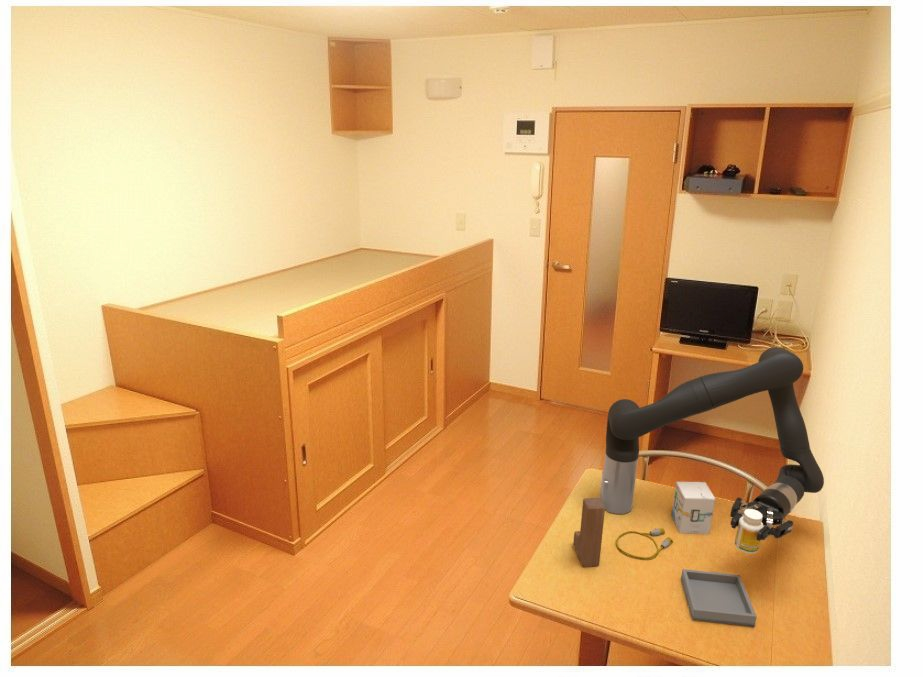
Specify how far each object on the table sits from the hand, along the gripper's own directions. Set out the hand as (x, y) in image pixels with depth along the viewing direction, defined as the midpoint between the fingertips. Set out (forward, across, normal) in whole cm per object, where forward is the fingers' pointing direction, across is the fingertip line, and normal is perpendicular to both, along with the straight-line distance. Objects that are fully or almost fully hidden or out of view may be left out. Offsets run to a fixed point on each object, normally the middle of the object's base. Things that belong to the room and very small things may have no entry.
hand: (745, 530), depth 144 cm
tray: (+7, -1, +18) cm, 19 cm away
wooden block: (+17, -32, +18) cm, 40 cm away
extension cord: (+1, -24, +18) cm, 30 cm away
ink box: (-16, -20, +18) cm, 32 cm away
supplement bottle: (-3, 0, +6) cm, 7 cm away
